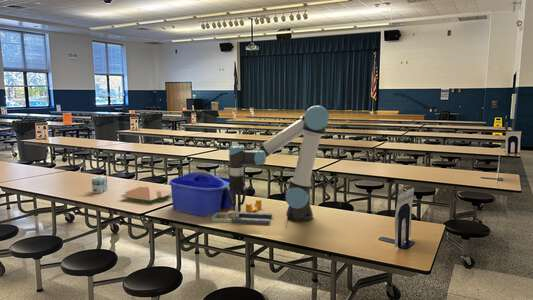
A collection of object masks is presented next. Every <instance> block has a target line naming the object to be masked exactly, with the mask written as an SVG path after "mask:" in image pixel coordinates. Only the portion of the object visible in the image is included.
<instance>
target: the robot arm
mask: <svg viewBox="0 0 533 300" xmlns="http://www.w3.org/2000/svg"><path fill="white" fill-rule="evenodd" d="M329 117H330V115H329V111H328V109H327V108H326V107H325V106H323V105H321V104H320V105H319V104H317V105H312V106H311V107H309V108H308V109H307V110H306V112H305V113H304V114H302V115H301V116H300V118H299V120H296V121H295V122H293V123H292V124H290V125H289V126H288V127H286V128H285V129H283V130H281V131H280V132H278V133H277V134H275V135H273V136H272V137H270V138H269V139H268V140H266V141H264V142H263V143H261V144H260V145H258V146H257V147H255V148H254V149H253V150H250V149H249V150H247V149H244V147H243V146H241V145H232V146H229V151H228V152H229V153H228V162H229V167H228V169H229V170H228V171H229V179H230V183H229V186H227V187H225V190H226V191H227V194H228V198H229V202H230V204H232V205H233V208H232V209H233V210H232V211H235V218H238V217H239V212H241V210H242V206H243V205H244V204H245V202H246V201H245V200H246V197H247V192H248V190H249V186H246V185H245V183H244V182H245V181H244V180H245V179H244V178H245V177H244V165H257V166H259V165H265V163H266V161H267V160H266V158H267V157H269V156H271V154H274V152H276V151H278V150H280V149H282V147H284V146H286V145H288V144H289V143H290V142H292V141H294V140H295V139H297V138H299V137H301V136H302V135H303V138H302V142H301V145H300V150H299V154H298V157H297V161H296V166H295V170H294V175H293V177H290V178H289V182H288V183H289V184H288V186H287V190H286V193H285V202H286V203H287V205H288V207H287V210H286V215H285V216H286V217H287V220H289V221H293V222H301V223H302V222H308V221H311V220H313V218H314V214H313V210H312V206H311V189H312V182H311V178H312V175H313V174H312V173H313V169H314V166H315V161H316V157H317V154H318V149H319V145H320V142H321V141H320V140H321V138H322V136H324V135H325V133H326V130H327V125H328V123H329V120H330V118H329ZM230 188H231V190H232V191H233V200H232V196H231V192H230ZM242 190H243V194H242V196H241V193H242ZM241 197H242V198H241Z"/></svg>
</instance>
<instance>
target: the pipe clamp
mask: <svg viewBox="0 0 533 300" xmlns="http://www.w3.org/2000/svg"><path fill="white" fill-rule="evenodd" d="M259 210H262V199H256V200H255V204H254V206H252V203H249V202H247V203H245V212H251V213H257V212H258V211H259Z"/></svg>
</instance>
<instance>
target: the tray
mask: <svg viewBox="0 0 533 300" xmlns="http://www.w3.org/2000/svg"><path fill="white" fill-rule="evenodd" d="M222 212H223V211H220V212H216V213H215V214H212V217H210V222H215V223H216V222H217V223H218V222H220V223H232V219H222V218H221V217H220V218H219V217H218V216H221V213H222Z"/></svg>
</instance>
